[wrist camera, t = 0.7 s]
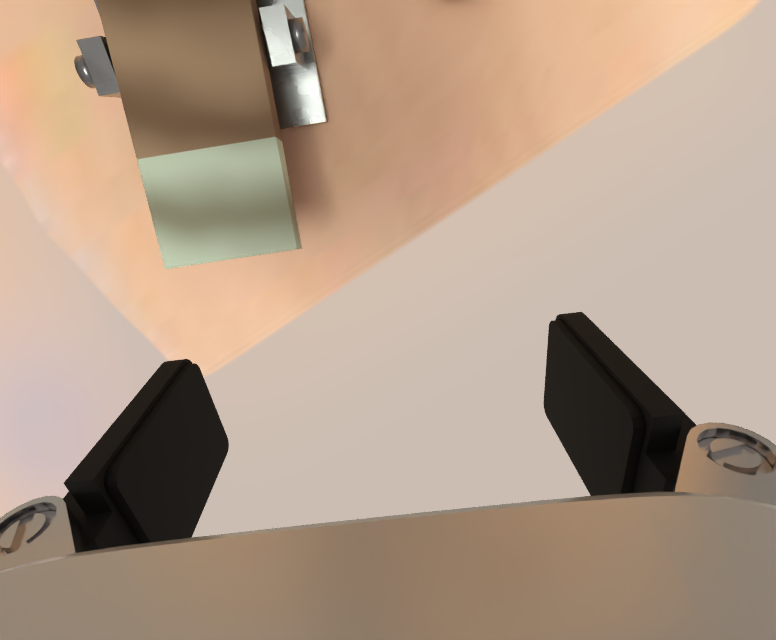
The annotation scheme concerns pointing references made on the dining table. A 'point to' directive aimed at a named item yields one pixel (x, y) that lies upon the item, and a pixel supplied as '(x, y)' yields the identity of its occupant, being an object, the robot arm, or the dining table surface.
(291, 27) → the beam stand
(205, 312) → the dining table surface
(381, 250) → the dining table surface
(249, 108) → the balance beam
